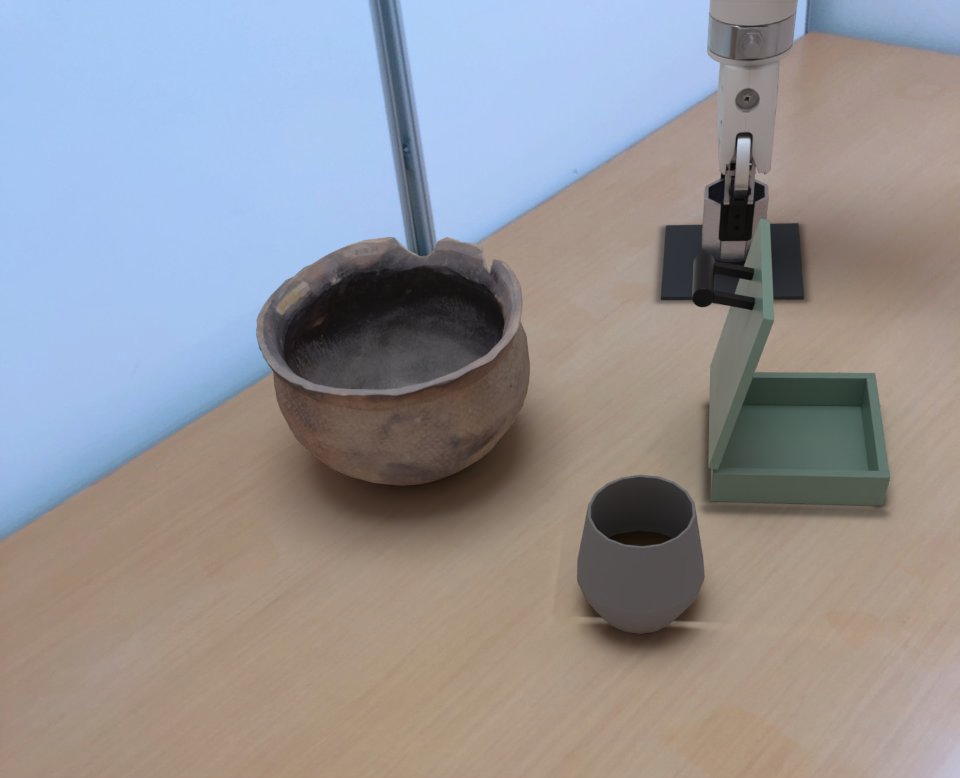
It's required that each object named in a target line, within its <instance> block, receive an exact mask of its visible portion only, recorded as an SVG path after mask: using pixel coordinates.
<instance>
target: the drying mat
mask: <svg viewBox="0 0 960 778" xmlns="http://www.w3.org/2000/svg"><path fill="white" fill-rule="evenodd" d="M799 225H800V224H799V223H798V222H795V223H794V222H792V223H789V222H788V223H786V222H785V223H770V237H771V258H772V280H773V301H774V300H776V301H777V300H778V301H779V300H781V301H783V300H804V299H805V291H804V279H803V278H804V277H803V266H802V265H803V264H802V254H801V253H802V251H801V239H800V229H799V228H800V226H799ZM664 234H665V235H664V246H663V247H664V249H663V264H662V275H661V276H662V277H661V292H660V300H661V301H693V300H692V290H693V264H694V259H695V258H696V256H698V255H699V254H701V253H705V252H704V251H703V250H702V249H701V243H702V224H666V225H665V233H664ZM714 260H715V259H714ZM715 261H717V260H715ZM717 262H722V261H717ZM745 262H746V260H745V261H741V262H723V263H728V264H733V265H739V266H744V264H745ZM739 279H740V278H735V277H729V276H724V275H718V274H715V282H714V290H717V291H722V292H727V293H733V294H735V291H736V288H737V285H738V282H739Z"/></svg>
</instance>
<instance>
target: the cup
mask: <svg viewBox="0 0 960 778" xmlns="http://www.w3.org/2000/svg"><path fill="white" fill-rule="evenodd" d="M583 524H584V525H583V528H582V529H583V530H582V535H581V540H580V545H579V550H578V554H577V560H576V561H577V562H576V582H577V585H578V587H579V588H580V590H581V593H582V595H583V597H584V599H585V601H586V602H587V603H588V604H589V605H590V607H591V608H592V609H593V610H594V611H595V612H596V613H597V614H598V615H599V616H600V617H601V618H602V619H603V620H604V621H605V622H607V624H609V625H610V626H611V627H613V628H615V629H617V630H620V631H621V632H624V633H631V634H641V635H642V634H649V633H655V632H658V631H660V630H662V629H665V628H667V627H669V626H670V625H671V624H672V623H673V622H674V621H676V619H677V618H678V617H680V616H681V615H682V614H683V613H684V612H685V611H686V610H687V609H688V608H689V607H690V606H691V605H692V604H693V603H694V602H695V600H697V597H698V595H699V593H700V591H701V588H702V586H703V583H704V581H705V577H706V576H705V575H706V574H705V561H704V553H703V548H702V540H701V535H700V528H699V521H698V515H697V509H696V502H695V501H694V499H693V498H692V497H691V495H690V493H689V492H688V490H686V489H685V488H684V487H683V486H681V485H680V484H679V483H677V482H676V481H673V480H671V479H667V478H664V477H662V476H659V475H649V474H636V475H627V476H622V477H619V478H616V479H614V480H611V481H609V482H607V483H605V484H604V485H603V486H602V487H600V488H599V489H598V490H597V491H595V492H594V494H593V495H592V497H591V499H590V501H589V502H588V505H587V509H586V515H585V519H584V523H583Z"/></svg>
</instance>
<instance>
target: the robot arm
mask: <svg viewBox="0 0 960 778" xmlns="http://www.w3.org/2000/svg"><path fill="white" fill-rule="evenodd" d="M798 2H799V0H709V12H708V25H707V43H706V54H707V55H708V57H709V58H710V59H712V60H713V61H715V62H717V63H719V66H718V67H719V69H718V83H717V105H716V106H717V107H716V108H717V109H716V111H717V112H716V119H717V120H716V125H717V126H716V131H717V133H716V135H717V155H718V169H719V172H720V178H722V177H723V178H724V177H725V191H724V200H721V209H720V222H719V240H720V241H749V240H751V238H752V229H753V219H754V208H755V200H753V197H754V184H755V179H756V174H757V173H758V174H763V175H765V176H766V175H768V174H769V173H770V172H771V171H772V163H773V150H774V149H773V148H774V140H775V139H774V138H775V129H776V128H775V127H776V118H777V109H778V97H779V82H780V65H781V64H780V61H782V60H784V59H785V58H787V57H789V55H790V54H791V53H792V51H793V48H794V47H793V46H794V39H795V38H794V37H795V28H796V19H797V13H798V12H797V11H798ZM756 170H757V171H756ZM731 177H735V182H734V185H732V186H731ZM748 182H749V183H748ZM730 187H731V188H730Z"/></svg>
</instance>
